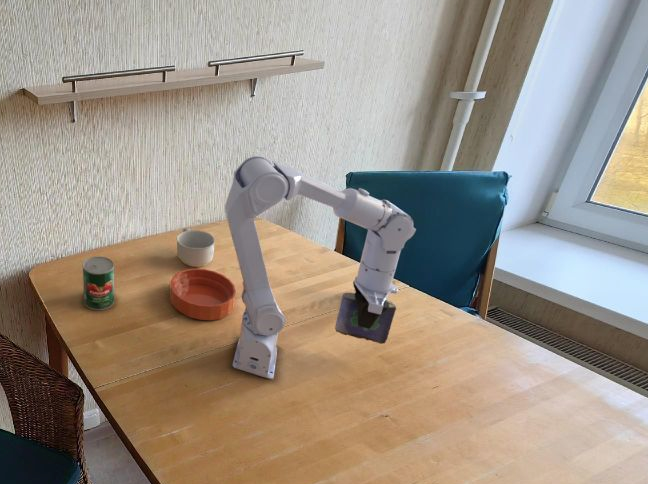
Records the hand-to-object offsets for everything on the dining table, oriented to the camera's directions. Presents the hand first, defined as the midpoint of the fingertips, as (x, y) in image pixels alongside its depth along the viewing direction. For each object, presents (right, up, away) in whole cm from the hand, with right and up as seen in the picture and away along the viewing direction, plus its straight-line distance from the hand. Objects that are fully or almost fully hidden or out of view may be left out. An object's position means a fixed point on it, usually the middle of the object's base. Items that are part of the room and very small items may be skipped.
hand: (363, 321), depth 87 cm
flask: (0, -3, +1) cm, 4 cm away
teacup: (-25, +5, +42) cm, 49 cm away
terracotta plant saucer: (-27, -2, +23) cm, 36 cm away
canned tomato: (-54, -3, +24) cm, 59 cm away
